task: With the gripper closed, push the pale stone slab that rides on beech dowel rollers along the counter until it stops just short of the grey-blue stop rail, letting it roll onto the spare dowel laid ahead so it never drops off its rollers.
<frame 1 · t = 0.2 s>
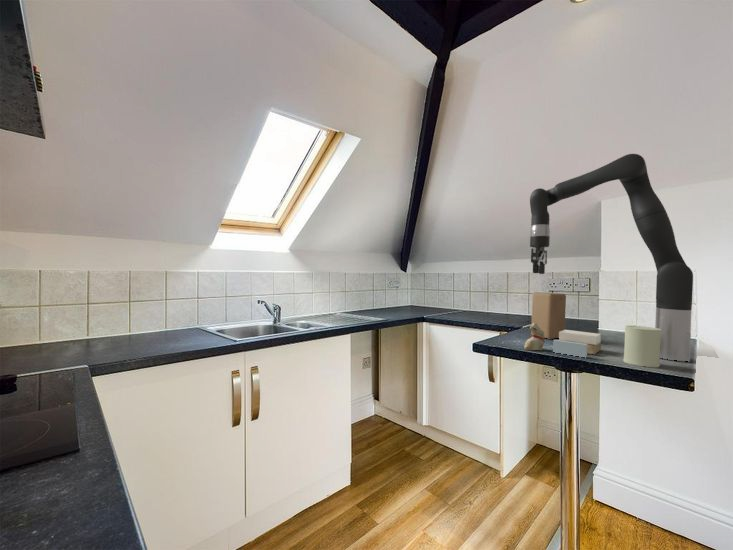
hand: (538, 273, 149), 28 cm above the countertop, tool pointing down, fingers open, 8 cm apart
roller 3: (577, 350, 129), on the countertop, tilted 5°, touching slab
chocolate bunny: (534, 350, 127), on the countertop
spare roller: (575, 351, 126), on the countertop
stop rail: (569, 355, 119), on the countertop
wooden block: (547, 337, 156), on the countertop
roller 2: (579, 349, 131), on the countertop, touching slab
slab: (579, 340, 131), point 3 cm above the countertop, touching roller 1, roller 2, roller 3
roller 1: (581, 347, 133), on the countertop, touching slab
can: (641, 364, 111), on the countertop
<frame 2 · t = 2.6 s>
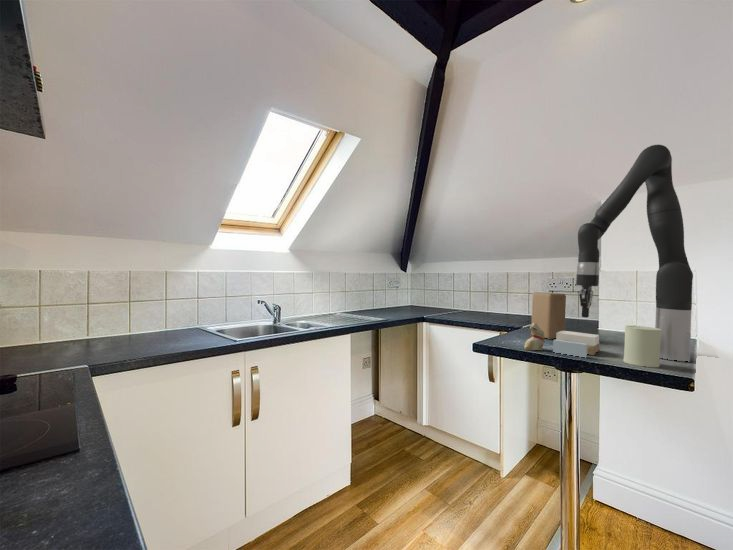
hand: (585, 317, 138), 11 cm above the countertop, tool pointing down, fingers closed
roller 3: (577, 347, 128), point 1 cm above the countertop, tilted 72°, touching slab
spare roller: (575, 349, 125), point 1 cm above the countertop, tilted 57°, touching slab
roller 2: (579, 346, 131), point 1 cm above the countertop, tilted 70°, touching slab
slab: (577, 341, 128), point 3 cm above the countertop, touching roller 2, roller 3, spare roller
roller 1: (581, 345, 133), point 1 cm above the countertop, tilted 68°
everything else where it was.
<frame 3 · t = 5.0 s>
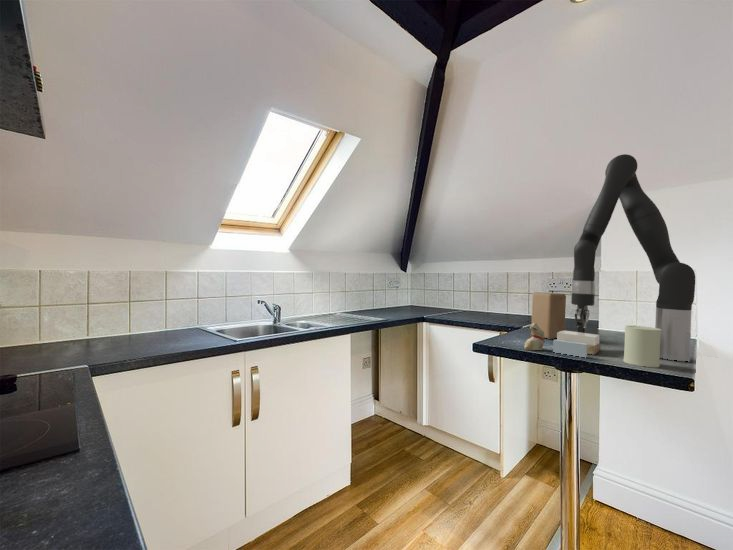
hand: (581, 337, 133), 4 cm above the countertop, tool pointing down, fingers closed
roller 3: (577, 348, 129), point 1 cm above the countertop, tilted 56°, touching slab
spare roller: (575, 351, 126), on the countertop, tilted 13°, touching slab
roller 2: (579, 347, 131), point 1 cm above the countertop, tilted 54°, touching slab
roller 1: (581, 347, 133), on the countertop, tilted 24°
everything else where it was.
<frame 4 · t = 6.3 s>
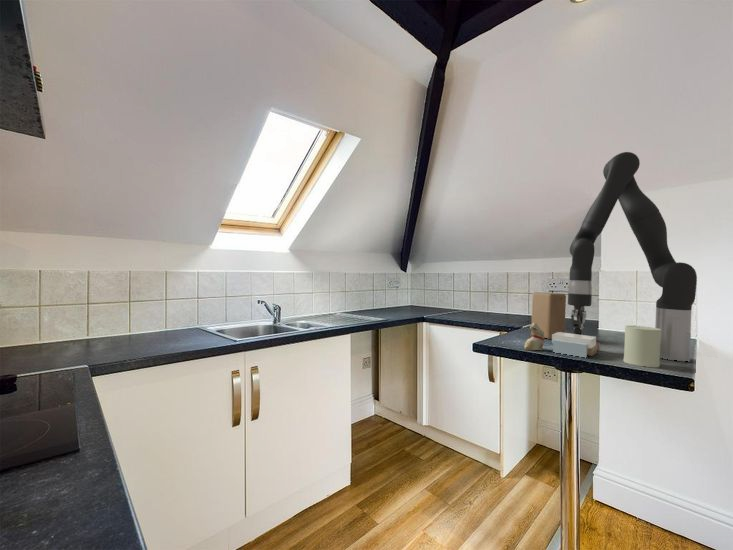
hand: (577, 339, 129), 4 cm above the countertop, tool pointing down, fingers closed
roller 3: (575, 343, 125), point 3 cm above the countertop, tilted 178°, touching slab
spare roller: (573, 345, 123), point 3 cm above the countertop, tilted 139°, touching slab
roller 2: (577, 342, 128), point 3 cm above the countertop, tilted 176°
slab: (573, 344, 123), point 3 cm above the countertop, touching roller 3, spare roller
roller 1: (581, 346, 133), point 1 cm above the countertop, tilted 57°
everything else where it was.
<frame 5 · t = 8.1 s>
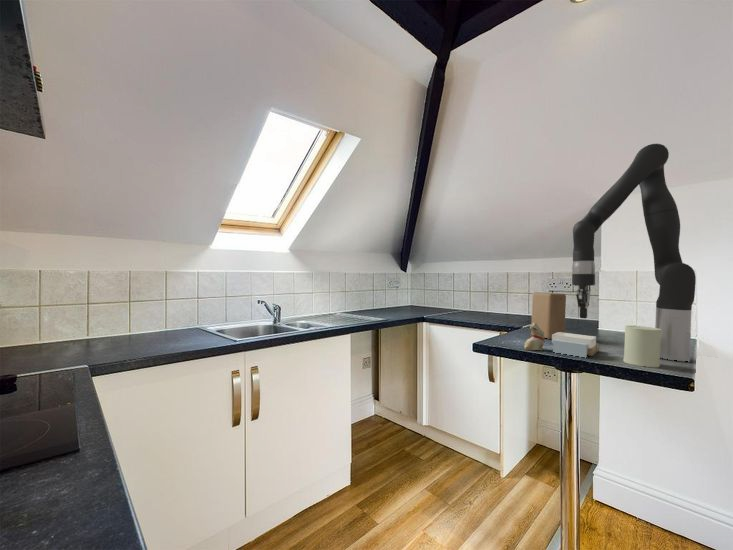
hand: (583, 318, 133), 12 cm above the countertop, tool pointing down, fingers closed
roller 2: (578, 343, 130), point 2 cm above the countertop, tilted 124°
roller 1: (580, 342, 132), point 2 cm above the countertop, tilted 119°
everything else where it was.
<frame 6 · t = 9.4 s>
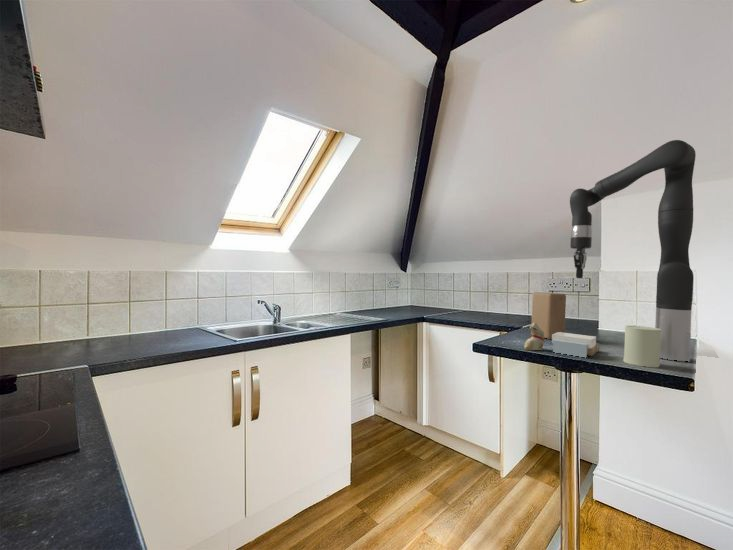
hand: (579, 278, 146), 27 cm above the countertop, tool pointing down, fingers closed
roller 2: (578, 343, 130), point 2 cm above the countertop, tilted 115°
roller 1: (580, 342, 132), point 2 cm above the countertop, tilted 110°
everything else where it was.
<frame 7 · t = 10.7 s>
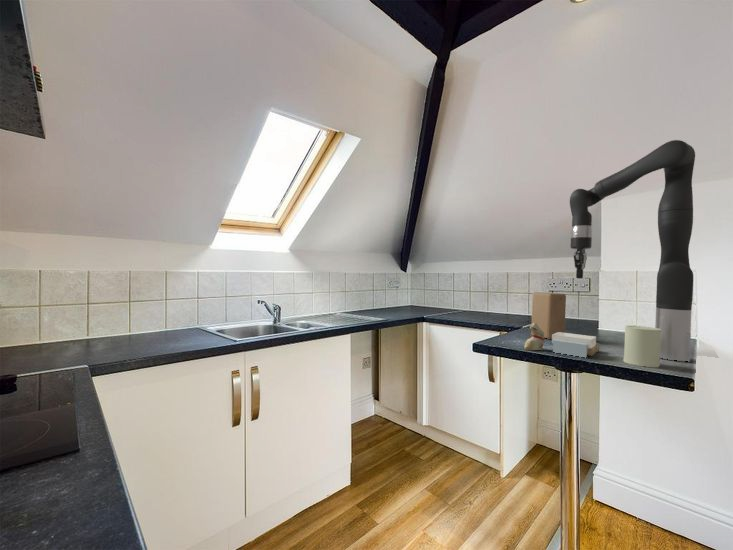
hand: (579, 278, 146), 27 cm above the countertop, tool pointing down, fingers closed
nothing on the countertop moved.
at the end: slab inside the target area (0.8 cm from its centre), point 3.2 cm above the countertop; slab point 3.2 cm above the countertop; slab tilted 0° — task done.
